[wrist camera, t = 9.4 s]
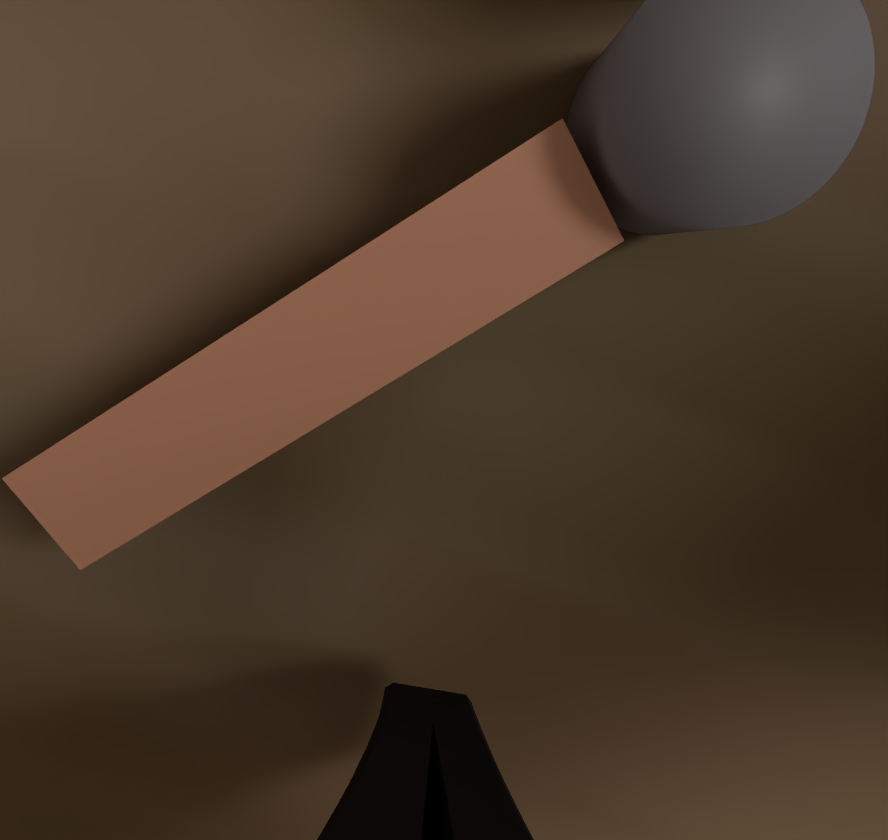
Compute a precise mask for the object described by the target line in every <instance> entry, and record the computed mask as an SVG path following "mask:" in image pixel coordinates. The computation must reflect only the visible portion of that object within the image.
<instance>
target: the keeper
mask: <svg viewBox="0 0 888 840" xmlns="http://www.w3.org/2000/svg"><path fill="white" fill-rule="evenodd" d="M874 73H875V56H874V45H873V38H872V32H871V28H870V25H869V21H868V18H867V15H866V12H865V10H864V8H863V5H862V3H861V1H860V0H645V2H644V3H643V4H642V5H641V7H640V8H639V9H638V10H637V11H636V13H635V14H634V15H633V16H632V17H631V19H630V20H629V21H628V22H627V24H626V25H625V26H624V27H623V28H622V30H621V31H620V32H619V33H618V34H617V36H616V37H615V38H614V39H613V41H612V42H611V43H610V44H609V45H608V47H607V48H606V49H605V50H604V51H603V53H602V54H601V55H600V56H599V58H598V59H597V60H596V61H595V62H594V64H593V65H592V66H591V67H590V69H589V70H588V71H587V72H586V74H585V76H584V77H583V79H582V80H581V82H580V84H579V86H578V88H577V90H576V92H575V94H574V96H573V99H572V102H571V105H570V108H569V112H568V117H567V121H566V124H565V122H564V120H563V118H562V119H561V120H559V121H558V122H556V123H554V124H553V125H551V126H550V127H548V128H547V129H545V130H544V131H542V132H540V133H539V134H537V135H536V136H534V137H533V138H531V139H530V140H528V141H526V142H525V143H523V144H522V145H520V146H519V147H517V148H516V149H514V150H512V151H511V152H509V153H508V154H506V155H505V156H503V157H502V158H500V159H498V160H497V161H495V162H494V163H492V164H491V165H489V166H488V167H486V168H484V169H483V170H481V171H480V172H478V173H477V174H475V175H474V176H472V177H470V178H469V179H467V180H466V181H464V182H463V183H461V184H459V185H458V186H456V187H455V188H453V189H452V190H450V191H449V192H447V193H445V194H444V195H442V196H441V197H439V198H438V199H436V200H435V201H433V202H431V203H430V204H428V205H427V206H425V207H424V208H422V209H421V210H419V211H417V212H416V213H414V214H413V215H411V216H410V217H408V218H407V219H405V220H403V221H402V222H400V223H399V224H397V225H396V226H394V227H393V228H391V229H389V230H388V231H386V232H385V233H383V234H382V235H380V236H379V237H377V238H375V239H374V240H372V241H371V242H369V243H368V244H366V245H365V246H363V247H361V248H360V249H358V250H357V251H355V252H354V253H352V254H351V255H349V256H347V257H346V258H344V259H343V260H341V261H340V262H338V263H337V264H335V265H333V266H332V267H330V268H329V269H327V270H326V271H324V272H323V273H321V274H319V275H318V276H316V277H315V278H313V279H312V280H310V281H308V282H307V283H305V284H304V285H302V286H301V287H299V288H298V289H296V290H294V291H293V292H291V293H290V294H288V295H287V296H285V297H284V298H282V299H280V300H279V301H277V302H276V303H274V304H273V305H271V306H270V307H268V308H266V309H265V310H263V311H262V312H260V313H259V314H257V315H256V316H254V317H252V318H251V319H249V320H248V321H246V322H245V323H243V324H242V325H240V326H238V327H237V328H235V329H234V330H232V331H231V332H229V333H228V334H226V335H224V336H223V337H221V338H220V339H218V340H217V341H215V342H214V343H212V344H210V345H209V346H207V347H206V348H204V349H203V350H201V351H200V352H198V353H196V354H195V355H193V356H192V357H190V358H189V359H187V360H186V361H184V362H182V363H181V364H179V365H178V366H176V367H175V368H173V369H171V370H170V371H168V372H167V373H165V374H164V375H162V376H161V377H159V378H157V379H156V380H154V381H153V382H151V383H150V384H148V385H147V386H145V387H143V388H142V389H140V390H139V391H137V392H136V393H134V394H133V395H131V396H129V397H128V398H126V399H125V400H123V401H122V402H120V403H119V404H117V405H115V406H114V407H112V408H111V409H109V410H108V411H106V412H105V413H103V414H101V415H100V416H98V417H97V418H95V419H94V420H92V421H91V422H89V423H87V424H86V425H84V426H83V427H81V428H80V429H78V430H77V431H75V432H73V433H72V434H70V435H69V436H67V437H66V438H64V439H63V440H61V441H59V442H58V443H56V444H55V445H53V446H52V447H50V448H49V449H47V450H45V451H44V452H42V453H41V454H39V455H38V456H36V457H34V458H33V459H31V460H30V461H28V462H27V463H25V464H24V465H22V466H20V467H19V468H17V469H16V470H14V471H13V472H11V473H10V474H8V475H6V476H5V477H3V478H2V479H3V481H4V482H5V483H6V484H7V485H8V486H9V488H10V489H11V490H12V491H13V492H14V493H15V495H16V496H17V497H18V498H19V499H20V500H21V502H22V503H23V504H24V505H25V506H26V507H27V509H28V510H29V511H30V512H31V513H32V514H33V516H34V517H35V518H36V519H37V520H38V521H39V523H40V524H41V525H42V526H43V527H44V528H45V530H46V531H47V532H48V533H49V534H50V535H51V537H52V538H53V539H54V540H55V541H56V542H57V544H58V545H59V546H60V547H61V548H62V549H63V551H64V552H65V553H66V554H67V555H68V556H69V558H70V559H71V560H72V561H73V562H74V563H75V565H76V566H77V567H78V568H79V569H80V570H81V569H83V568H85V567H86V566H88V565H90V564H91V563H93V562H95V561H96V560H98V559H100V558H101V557H103V556H105V555H106V554H108V553H110V552H111V551H113V550H114V549H116V548H118V547H119V546H121V545H123V544H124V543H126V542H128V541H129V540H131V539H133V538H134V537H136V536H138V535H139V534H141V533H143V532H144V531H146V530H148V529H149V528H151V527H152V526H154V525H156V524H157V523H159V522H161V521H162V520H164V519H166V518H167V517H169V516H171V515H172V514H174V513H176V512H177V511H179V510H181V509H182V508H184V507H185V506H187V505H189V504H190V503H192V502H194V501H195V500H197V499H199V498H200V497H202V496H204V495H205V494H207V493H209V492H210V491H212V490H214V489H215V488H217V487H219V486H220V485H222V484H223V483H225V482H227V481H228V480H230V479H232V478H233V477H235V476H237V475H238V474H240V473H242V472H243V471H245V470H247V469H248V468H250V467H252V466H253V465H255V464H257V463H258V462H260V461H261V460H263V459H265V458H266V457H268V456H270V455H271V454H273V453H275V452H276V451H278V450H280V449H281V448H283V447H285V446H286V445H288V444H290V443H291V442H293V441H295V440H296V439H298V438H299V437H301V436H303V435H304V434H306V433H308V432H309V431H311V430H313V429H314V428H316V427H318V426H319V425H321V424H323V423H324V422H326V421H328V420H329V419H331V418H333V417H334V416H336V415H337V414H339V413H341V412H342V411H344V410H346V409H347V408H349V407H351V406H352V405H354V404H356V403H357V402H359V401H361V400H362V399H364V398H366V397H367V396H369V395H371V394H372V393H374V392H375V391H377V390H379V389H380V388H382V387H384V386H385V385H387V384H389V383H390V382H392V381H394V380H395V379H397V378H399V377H400V376H402V375H404V374H405V373H407V372H409V371H410V370H412V369H413V368H415V367H417V366H418V365H420V364H422V363H423V362H425V361H427V360H428V359H430V358H432V357H433V356H435V355H437V354H438V353H440V352H442V351H443V350H445V349H446V348H448V347H450V346H451V345H453V344H455V343H456V342H458V341H460V340H461V339H463V338H465V337H466V336H468V335H470V334H471V333H473V332H475V331H476V330H478V329H480V328H481V327H483V326H484V325H486V324H488V323H489V322H491V321H493V320H494V319H496V318H498V317H499V316H501V315H503V314H504V313H506V312H508V311H509V310H511V309H513V308H514V307H516V306H518V305H519V304H521V303H522V302H524V301H526V300H527V299H529V298H531V297H532V296H534V295H536V294H537V293H539V292H541V291H542V290H544V289H546V288H547V287H549V286H551V285H552V284H554V283H556V282H557V281H559V280H560V279H562V278H564V277H565V276H567V275H569V274H570V273H572V272H574V271H575V270H577V269H579V268H580V267H582V266H584V265H585V264H587V263H589V262H590V261H592V260H594V259H595V258H597V257H598V256H600V255H602V254H603V253H605V252H607V251H608V250H610V249H612V248H613V247H615V246H617V245H618V244H620V243H622V242H623V241H624V239H623V237H622V235H621V233H620V231H619V229H622V230H625V231H628V232H632V233H637V234H643V235H659V234H670V233H680V232H691V231H701V230H712V229H722V228H732V227H743V226H749V225H754V224H758V223H762V222H765V221H768V220H771V219H773V218H776V217H779V216H781V215H783V214H784V213H786V212H788V211H790V210H792V209H794V208H796V207H797V206H799V205H800V204H802V203H803V202H805V201H806V200H807V199H809V198H810V197H811V196H812V195H814V194H815V193H816V192H817V191H818V190H819V189H821V188H822V187H823V186H824V185H825V184H826V182H827V181H828V180H829V179H830V178H831V177H832V176H833V175H834V174H835V173H836V171H837V170H838V169H839V167H840V166H841V165H842V163H843V162H844V161H845V159H846V158H847V156H848V154H849V153H850V151H851V149H852V148H853V146H854V144H855V142H856V140H857V138H858V136H859V134H860V131H861V129H862V127H863V125H864V122H865V119H866V115H867V112H868V109H869V106H870V101H871V96H872V91H873V85H874ZM618 228H619V229H618Z"/></svg>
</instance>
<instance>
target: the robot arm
mask: <svg viewBox="0 0 888 840" xmlns="http://www.w3.org/2000/svg"><path fill="white" fill-rule="evenodd" d="M317 840H534V839H533V837H532V836H531V834H530V832H529V830H528V828H527V826H526V824H525V822H524V820H523V818H522V816H521V814H520V812H519V810H518V808H517V806H516V804H515V802H514V800H513V798H512V796H511V794H510V792H509V790H508V788H507V786H506V784H505V782H504V780H503V778H502V775H501V773H500V771H499V769H498V767H497V764H496V762H495V760H494V758H493V755H492V753H491V751H490V748H489V746H488V744H487V741H486V739H485V737H484V734H483V732H482V729H481V727H480V724H479V722H478V719H477V717H476V714H475V711H474V709H473V706H472V703H471V701H470V700H469V698H468V697H467V695H464V694H458V693H452V692H446V691H440V690H434V689H428V688H422V687H416V686H410V685H404V684H398V683H392V684H391V685H389V686H387V687H385V691H384V696H383V701H382V705H381V710H380V715H379V718H378V720H377V723H376V726H375V728H374V731H373V733H372V736H371V738H370V741H369V743H368V746H367V748H366V750H365V752H364V754H363V756H362V758H361V760H360V762H359V764H358V766H357V768H356V771H355V773H354V775H353V777H352V779H351V781H350V783H349V785H348V787H347V789H346V790H345V792H344V794H343V796H342V798H341V799H340V801H339V803H338V805H337V806H336V808H335V810H334V812H333V813H332V815H331V817H330V819H329V820H328V822H327V824H326V826H325V827H324V829H323V831H322V833H321V834H320V836H319V838H318V839H317Z"/></svg>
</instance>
